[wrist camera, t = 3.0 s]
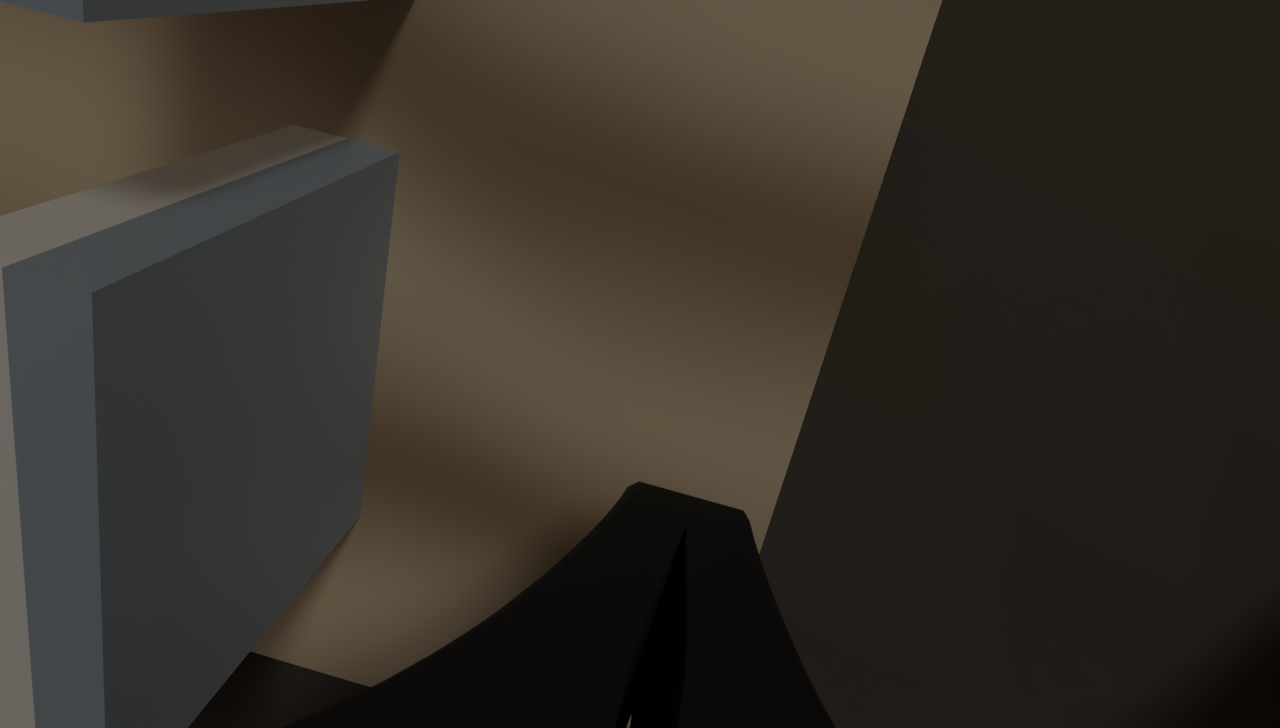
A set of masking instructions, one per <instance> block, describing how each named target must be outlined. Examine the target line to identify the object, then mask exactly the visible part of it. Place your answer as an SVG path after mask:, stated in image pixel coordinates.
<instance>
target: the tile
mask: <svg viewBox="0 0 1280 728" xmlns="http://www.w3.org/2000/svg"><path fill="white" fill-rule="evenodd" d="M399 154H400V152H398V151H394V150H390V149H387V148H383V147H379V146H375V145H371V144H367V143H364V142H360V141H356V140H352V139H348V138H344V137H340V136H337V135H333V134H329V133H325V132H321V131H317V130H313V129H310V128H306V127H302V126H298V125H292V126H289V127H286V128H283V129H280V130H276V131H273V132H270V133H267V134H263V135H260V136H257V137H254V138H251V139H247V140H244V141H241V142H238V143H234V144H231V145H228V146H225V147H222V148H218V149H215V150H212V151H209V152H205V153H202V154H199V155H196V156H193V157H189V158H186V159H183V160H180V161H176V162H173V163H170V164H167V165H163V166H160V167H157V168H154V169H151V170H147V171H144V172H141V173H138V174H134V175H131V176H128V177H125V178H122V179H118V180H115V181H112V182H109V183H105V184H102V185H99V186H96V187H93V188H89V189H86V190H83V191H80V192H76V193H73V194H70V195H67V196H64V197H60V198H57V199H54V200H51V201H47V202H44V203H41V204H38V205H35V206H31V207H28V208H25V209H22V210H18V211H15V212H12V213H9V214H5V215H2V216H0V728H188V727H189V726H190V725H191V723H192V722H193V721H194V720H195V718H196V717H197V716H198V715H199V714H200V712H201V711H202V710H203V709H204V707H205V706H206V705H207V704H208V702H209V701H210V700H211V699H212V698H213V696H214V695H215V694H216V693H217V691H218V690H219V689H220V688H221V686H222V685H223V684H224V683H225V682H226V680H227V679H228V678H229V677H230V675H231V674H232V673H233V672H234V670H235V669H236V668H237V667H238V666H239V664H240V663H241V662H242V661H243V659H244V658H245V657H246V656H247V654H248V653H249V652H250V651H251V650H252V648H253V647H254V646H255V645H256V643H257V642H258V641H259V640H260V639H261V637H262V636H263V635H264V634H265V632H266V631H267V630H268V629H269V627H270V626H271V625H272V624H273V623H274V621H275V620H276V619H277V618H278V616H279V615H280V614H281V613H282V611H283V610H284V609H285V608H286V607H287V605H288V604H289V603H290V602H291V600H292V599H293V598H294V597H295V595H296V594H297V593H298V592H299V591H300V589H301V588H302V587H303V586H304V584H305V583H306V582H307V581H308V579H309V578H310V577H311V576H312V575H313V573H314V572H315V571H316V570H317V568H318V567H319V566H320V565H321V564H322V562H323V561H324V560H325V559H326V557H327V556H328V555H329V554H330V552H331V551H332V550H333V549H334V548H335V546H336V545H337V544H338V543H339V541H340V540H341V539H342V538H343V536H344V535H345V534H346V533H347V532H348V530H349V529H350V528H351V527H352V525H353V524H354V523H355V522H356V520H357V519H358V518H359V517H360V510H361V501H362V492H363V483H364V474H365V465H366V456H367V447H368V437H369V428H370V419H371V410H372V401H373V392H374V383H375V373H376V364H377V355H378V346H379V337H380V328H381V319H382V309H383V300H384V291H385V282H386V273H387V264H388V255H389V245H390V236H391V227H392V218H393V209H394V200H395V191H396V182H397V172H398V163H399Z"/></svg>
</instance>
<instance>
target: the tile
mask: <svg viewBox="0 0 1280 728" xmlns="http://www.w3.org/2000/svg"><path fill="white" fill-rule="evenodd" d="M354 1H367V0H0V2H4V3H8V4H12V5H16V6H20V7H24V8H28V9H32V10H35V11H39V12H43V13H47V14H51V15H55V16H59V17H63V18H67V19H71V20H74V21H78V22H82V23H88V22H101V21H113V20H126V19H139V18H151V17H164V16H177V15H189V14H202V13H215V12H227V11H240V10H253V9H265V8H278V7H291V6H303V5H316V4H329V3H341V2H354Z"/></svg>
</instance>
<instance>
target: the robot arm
mask: <svg viewBox="0 0 1280 728" xmlns="http://www.w3.org/2000/svg"><path fill="white" fill-rule="evenodd" d="M630 717H631V721H630V728H835V726H834V724H833V722H832V721H831V719H830V717H829V715H828V713H827V711H826V710H825V708H824V706H823V704H822V702H821V700H820V698H819V696H818V694H817V692H816V690H815V688H814V686H813V684H812V682H811V680H810V678H809V676H808V674H807V672H806V670H805V668H804V666H803V664H802V662H801V660H800V658H799V655H798V653H797V651H796V649H795V647H794V645H793V642H792V640H791V637H790V635H789V633H788V630H787V628H786V626H785V623H784V621H783V618H782V616H781V614H780V611H779V609H778V606H777V604H776V601H775V599H774V596H773V594H772V591H771V588H770V586H769V583H768V580H767V577H766V574H765V571H764V568H763V565H762V563H761V559H760V556H759V553H758V550H757V546H756V543H755V540H754V536H753V532H752V528H751V524H750V521H749V519H748V517H747V516H746V514H745V512H744V510H740V509H736V508H733V507H729V506H726V505H722V504H719V503H715V502H711V501H708V500H704V499H701V498H697V497H694V496H690V495H686V494H683V493H679V492H676V491H672V490H669V489H665V488H661V487H658V486H654V485H651V484H647V483H644V482H640V481H639V482H636V483H634V484H632V485H630V486H628V487H627V488H626V490H625V491H624V493H623V495H622V496H621V497H620V499H619V500H618V501H617V503H616V504H615V505H614V506H613V508H612V509H611V510H610V511H609V512H608V513H607V514H606V516H605V517H604V518H603V519H602V520H601V521H600V522H599V523H598V524H597V525H596V526H595V527H594V528H593V529H592V530H591V532H590V533H589V534H588V535H587V536H586V537H585V538H583V539H582V540H581V541H580V542H579V543H578V544H577V545H576V546H575V547H574V548H573V549H572V550H571V551H570V552H568V553H567V554H566V555H565V556H564V557H563V558H562V559H561V560H560V561H559V562H558V563H557V564H556V565H554V566H553V567H552V568H551V569H550V570H549V571H548V572H546V573H545V574H544V575H543V576H541V577H540V578H539V579H538V580H536V581H535V582H534V583H533V584H531V585H530V586H529V587H528V588H526V589H525V590H524V591H522V592H521V593H520V594H519V595H517V596H516V597H515V598H514V599H512V600H511V601H510V602H509V603H507V604H506V605H505V606H503V607H502V608H501V609H499V610H498V611H497V612H495V613H494V614H492V615H491V616H489V617H488V618H487V619H485V620H484V621H482V622H481V623H480V624H478V625H477V626H475V627H474V628H472V629H471V630H469V631H468V632H466V633H464V634H463V635H461V636H460V637H458V638H457V639H455V640H453V641H452V642H450V643H449V644H447V645H446V646H444V647H442V648H441V649H439V650H437V651H436V652H434V653H432V654H431V655H429V656H427V657H425V658H424V659H422V660H420V661H418V662H416V663H415V664H413V665H411V666H409V667H407V668H406V669H404V670H402V671H400V672H398V673H397V674H395V675H393V676H391V677H389V678H388V679H386V680H384V681H382V682H380V683H378V684H376V685H374V686H372V687H370V688H368V689H366V690H364V691H362V692H360V693H358V694H356V695H354V696H352V697H350V698H348V699H346V700H344V701H341V702H339V703H337V704H334V705H332V706H330V707H327V708H325V709H323V710H321V711H318V712H316V713H314V714H311V715H309V716H307V717H304V718H302V719H300V720H297V721H295V722H293V723H290V724H288V725H286V726H284V727H281V728H627V725H628V722H629V720H630Z"/></svg>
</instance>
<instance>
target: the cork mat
mask: <svg viewBox="0 0 1280 728" xmlns="http://www.w3.org/2000/svg"><path fill="white" fill-rule="evenodd" d="M941 2H942V0H367V1H354V2H341V3H329V4H316V5H303V6H291V7H278V8H265V9H253V10H240V11H227V12H215V13H202V14H189V15H177V16H164V17H151V18H139V19H126V20H113V21H101V22H88V23H82V22H78V21H74V20H71V19H67V18H63V17H59V16H55V15H51V14H47V13H43V12H39V11H35V10H32V9H28V8H24V7H20V6H16V5H12V4H8V3H4V2H0V216H2V215H5V214H9V213H12V212H15V211H18V210H22V209H25V208H28V207H31V206H35V205H38V204H41V203H44V202H47V201H51V200H54V199H57V198H60V197H64V196H67V195H70V194H73V193H76V192H80V191H83V190H86V189H89V188H93V187H96V186H99V185H102V184H105V183H109V182H112V181H115V180H118V179H122V178H125V177H128V176H131V175H134V174H138V173H141V172H144V171H147V170H151V169H154V168H157V167H160V166H163V165H167V164H170V163H173V162H176V161H180V160H183V159H186V158H189V157H193V156H196V155H199V154H202V153H205V152H209V151H212V150H215V149H218V148H222V147H225V146H228V145H231V144H234V143H238V142H241V141H244V140H247V139H251V138H254V137H257V136H260V135H263V134H267V133H270V132H273V131H276V130H280V129H283V128H286V127H289V126H292V125H298V126H302V127H306V128H310V129H313V130H317V131H321V132H325V133H329V134H333V135H337V136H340V137H344V138H348V139H352V140H356V141H360V142H364V143H367V144H371V145H375V146H379V147H383V148H387V149H390V150H394V151H398V152H400V154H399V163H398V172H397V182H396V191H395V200H394V209H393V218H392V227H391V236H390V245H389V255H388V264H387V273H386V282H385V291H384V300H383V309H382V319H381V328H380V337H379V346H378V355H377V364H376V373H375V383H374V392H373V401H372V410H371V419H370V428H369V437H368V447H367V456H366V465H365V474H364V483H363V492H362V501H361V510H360V517H359V518H358V519H357V520H356V522H355V523H354V524H353V525H352V527H351V528H350V529H349V530H348V532H347V533H346V534H345V535H344V536H343V538H342V539H341V540H340V541H339V543H338V544H337V545H336V546H335V548H334V549H333V550H332V551H331V552H330V554H329V555H328V556H327V557H326V559H325V560H324V561H323V562H322V564H321V565H320V566H319V567H318V568H317V570H316V571H315V572H314V573H313V575H312V576H311V577H310V578H309V579H308V581H307V582H306V583H305V584H304V586H303V587H302V588H301V589H300V591H299V592H298V593H297V594H296V595H295V597H294V598H293V599H292V600H291V602H290V603H289V604H288V605H287V607H286V608H285V609H284V610H283V611H282V613H281V614H280V615H279V616H278V618H277V619H276V620H275V621H274V623H273V624H272V625H271V626H270V627H269V629H268V630H267V631H266V632H265V634H264V635H263V636H262V637H261V639H260V640H259V641H258V642H257V643H256V645H255V646H254V647H253V648H252V650H251V652H254V653H257V654H261V655H264V656H268V657H271V658H274V659H278V660H281V661H284V662H288V663H291V664H294V665H298V666H301V667H305V668H308V669H311V670H315V671H318V672H321V673H325V674H328V675H331V676H335V677H338V678H342V679H345V680H348V681H352V682H355V683H358V684H362V685H365V686H368V687H372V686H374V685H376V684H378V683H380V682H382V681H384V680H386V679H388V678H389V677H391V676H393V675H395V674H397V673H398V672H400V671H402V670H404V669H406V668H407V667H409V666H411V665H413V664H415V663H416V662H418V661H420V660H422V659H424V658H425V657H427V656H429V655H431V654H432V653H434V652H436V651H437V650H439V649H441V648H442V647H444V646H446V645H447V644H449V643H450V642H452V641H453V640H455V639H457V638H458V637H460V636H461V635H463V634H464V633H466V632H468V631H469V630H471V629H472V628H474V627H475V626H477V625H478V624H480V623H481V622H482V621H484V620H485V619H487V618H488V617H489V616H491V615H492V614H494V613H495V612H497V611H498V610H499V609H501V608H502V607H503V606H505V605H506V604H507V603H509V602H510V601H511V600H512V599H514V598H515V597H516V596H517V595H519V594H520V593H521V592H522V591H524V590H525V589H526V588H528V587H529V586H530V585H531V584H533V583H534V582H535V581H536V580H538V579H539V578H540V577H541V576H543V575H544V574H545V573H546V572H548V571H549V570H550V569H551V568H552V567H553V566H554V565H556V564H557V563H558V562H559V561H560V560H561V559H562V558H563V557H564V556H565V555H566V554H567V553H568V552H570V551H571V550H572V549H573V548H574V547H575V546H576V545H577V544H578V543H579V542H580V541H581V540H582V539H583V538H585V537H586V536H587V535H588V534H589V533H590V532H591V530H592V529H593V528H594V527H595V526H596V525H597V524H598V523H599V522H600V521H601V520H602V519H603V518H604V517H605V516H606V514H607V513H608V512H609V511H610V510H611V509H612V508H613V506H614V505H615V504H616V503H617V501H618V500H619V499H620V497H621V496H622V495H623V493H624V491H625V490H626V488H627V487H628V486H630V485H632V484H634V483H636V482H639V481H640V482H644V483H647V484H651V485H654V486H658V487H661V488H665V489H669V490H672V491H676V492H679V493H683V494H686V495H690V496H694V497H697V498H701V499H704V500H708V501H711V502H715V503H719V504H722V505H726V506H729V507H733V508H736V509H740V510H744V512H745V514H746V516H747V517H748V519H749V521H750V524H751V528H752V532H753V536H754V540H755V543H756V546H757V550H758V553H760V550H761V547H762V544H763V541H764V538H765V535H766V532H767V529H768V526H769V523H770V520H771V517H772V513H773V510H774V507H775V504H776V501H777V498H778V495H779V492H780V489H781V486H782V483H783V480H784V477H785V474H786V471H787V468H788V465H789V462H790V459H791V456H792V453H793V450H794V447H795V444H796V441H797V438H798V435H799V432H800V429H801V426H802V423H803V420H804V417H805V414H806V411H807V408H808V405H809V401H810V398H811V395H812V392H813V389H814V386H815V383H816V380H817V377H818V374H819V371H820V368H821V365H822V362H823V359H824V356H825V353H826V350H827V347H828V344H829V341H830V338H831V335H832V332H833V329H834V326H835V323H836V320H837V317H838V314H839V311H840V308H841V305H842V302H843V299H844V296H845V292H846V289H847V286H848V283H849V280H850V277H851V274H852V271H853V268H854V265H855V262H856V259H857V256H858V253H859V250H860V247H861V244H862V241H863V238H864V235H865V232H866V229H867V226H868V223H869V220H870V217H871V214H872V211H873V208H874V205H875V202H876V199H877V196H878V193H879V190H880V187H881V184H882V180H883V177H884V174H885V171H886V168H887V165H888V162H889V159H890V156H891V153H892V150H893V147H894V144H895V141H896V138H897V135H898V132H899V129H900V126H901V123H902V120H903V117H904V114H905V111H906V108H907V105H908V102H909V99H910V96H911V93H912V90H913V87H914V84H915V81H916V78H917V75H918V71H919V68H920V65H921V62H922V59H923V56H924V53H925V50H926V47H927V44H928V41H929V38H930V35H931V32H932V29H933V26H934V23H935V20H936V17H937V14H938V11H939V8H940V5H941ZM630 721H631V717H630V720H629V722H628V725H627V728H630Z"/></svg>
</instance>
